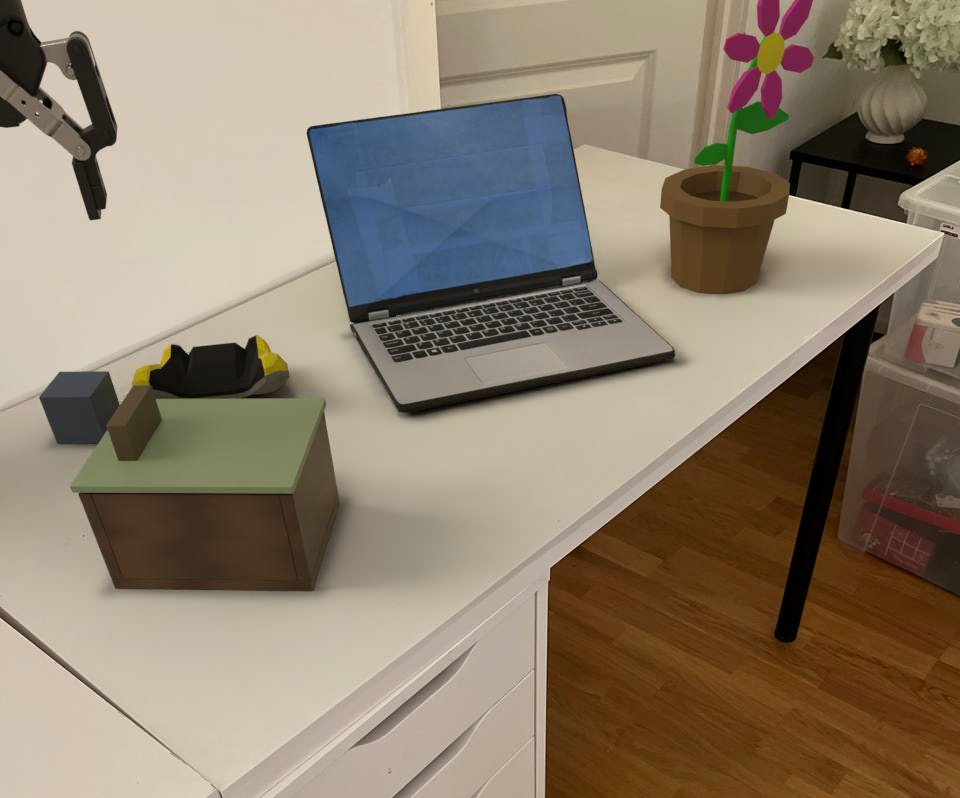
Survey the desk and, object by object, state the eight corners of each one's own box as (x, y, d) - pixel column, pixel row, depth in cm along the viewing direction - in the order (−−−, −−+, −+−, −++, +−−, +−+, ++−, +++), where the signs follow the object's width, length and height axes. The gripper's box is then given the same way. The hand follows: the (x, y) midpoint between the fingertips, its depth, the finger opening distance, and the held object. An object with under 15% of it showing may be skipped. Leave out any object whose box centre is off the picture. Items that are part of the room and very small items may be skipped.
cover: (72, 493, 70) (55, 450, 68) (130, 405, 79) (117, 364, 77) (293, 493, 69) (284, 450, 66) (326, 404, 78) (319, 363, 75)
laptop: (399, 421, 94) (377, 226, 81) (328, 295, 116) (302, 126, 103) (678, 363, 100) (697, 173, 87) (560, 253, 122) (562, 90, 110)
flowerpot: (707, 312, 108) (746, -5, 88) (629, 270, 117) (648, -26, 97) (802, 281, 113) (860, -26, 93) (720, 243, 122) (757, -44, 102)
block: (56, 443, 93) (38, 397, 90) (76, 417, 97) (59, 371, 94) (106, 443, 93) (90, 396, 90) (124, 417, 97) (109, 371, 93)
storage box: (114, 588, 77) (77, 494, 70) (161, 501, 85) (132, 410, 79) (312, 591, 75) (292, 495, 69) (339, 502, 84) (324, 409, 78)
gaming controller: (294, 413, 96) (294, 366, 103) (284, 361, 92) (284, 316, 99) (140, 430, 95) (151, 381, 102) (124, 378, 91) (136, 331, 98)
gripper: (61, -93, 57) (139, 193, 68) (-197, -73, 55) (-74, 220, 66) (53, -78, 52) (138, 230, 63) (-234, -54, 50) (-93, 261, 61)
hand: (29, 225), depth 64 cm, fingers open, 8 cm apart
